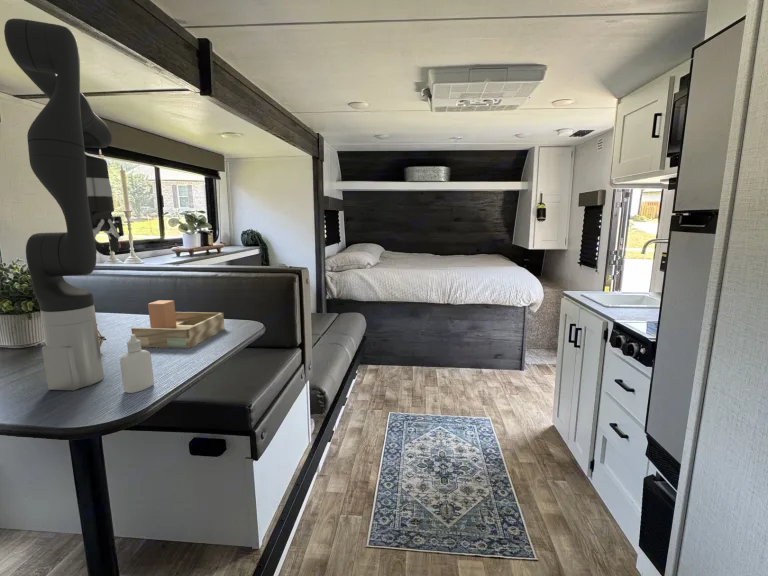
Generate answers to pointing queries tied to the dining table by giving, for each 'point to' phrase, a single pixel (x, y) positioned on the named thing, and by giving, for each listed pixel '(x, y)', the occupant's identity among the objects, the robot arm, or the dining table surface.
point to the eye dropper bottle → (136, 367)
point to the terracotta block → (162, 314)
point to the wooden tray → (182, 330)
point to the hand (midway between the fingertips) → (104, 252)
